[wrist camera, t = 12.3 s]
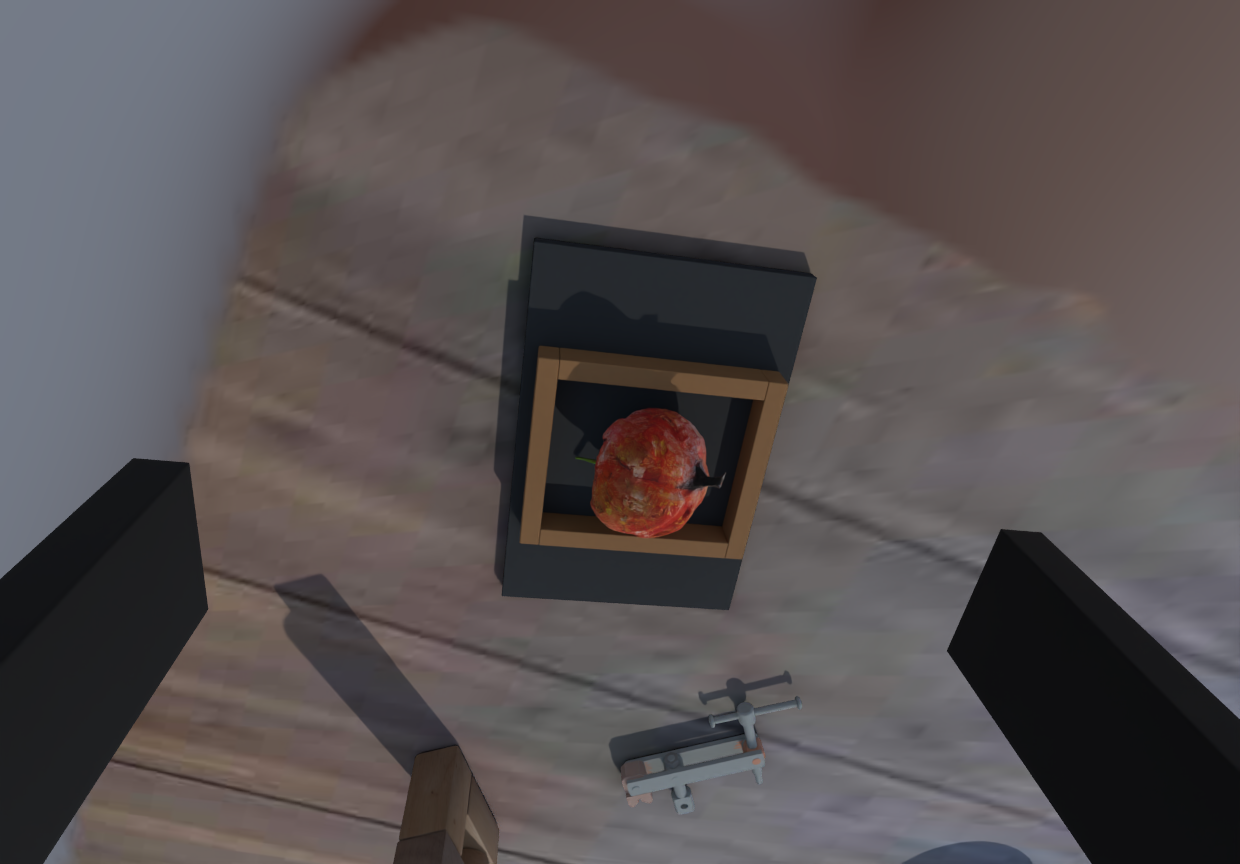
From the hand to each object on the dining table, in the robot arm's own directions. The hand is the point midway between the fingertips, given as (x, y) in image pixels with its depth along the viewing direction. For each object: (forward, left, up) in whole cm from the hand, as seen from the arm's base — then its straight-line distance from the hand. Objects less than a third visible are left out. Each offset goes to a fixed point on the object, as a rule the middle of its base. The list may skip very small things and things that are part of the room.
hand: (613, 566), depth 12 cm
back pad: (+13, +6, -31) cm, 34 cm away
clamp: (+40, +16, -31) cm, 53 cm away
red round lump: (+13, +6, -30) cm, 33 cm away
